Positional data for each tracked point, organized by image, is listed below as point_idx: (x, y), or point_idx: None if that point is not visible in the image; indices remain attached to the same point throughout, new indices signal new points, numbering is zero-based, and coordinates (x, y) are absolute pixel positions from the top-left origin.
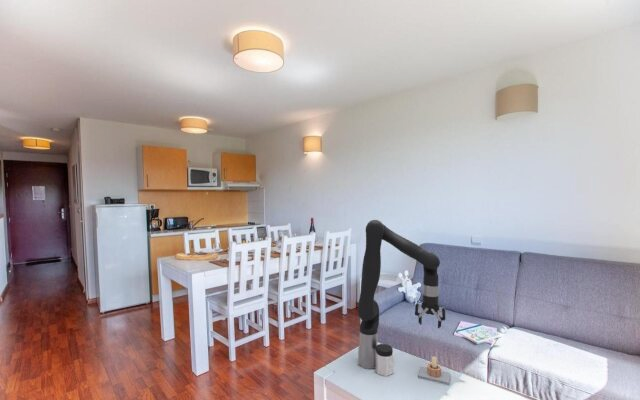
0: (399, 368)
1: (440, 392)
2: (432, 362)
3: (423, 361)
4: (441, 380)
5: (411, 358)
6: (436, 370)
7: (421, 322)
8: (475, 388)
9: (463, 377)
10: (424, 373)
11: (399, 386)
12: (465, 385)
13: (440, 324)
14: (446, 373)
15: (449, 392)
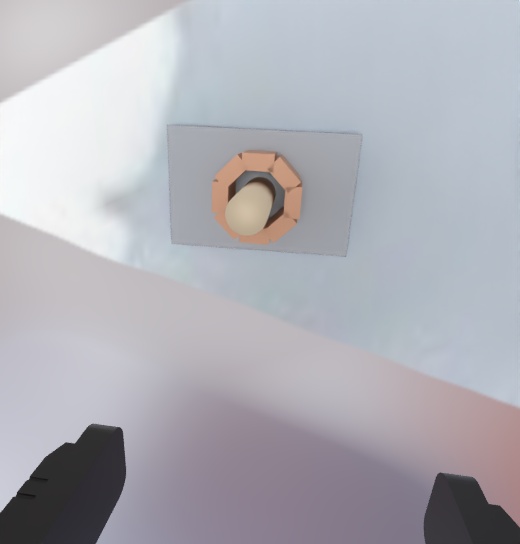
0: (481, 203)
1: (215, 12)
2: (263, 192)
3: (327, 333)
4: (213, 131)
5: (398, 343)
6: (237, 154)
7: (445, 531)
8: (40, 151)
9: (109, 241)
10: (319, 174)
11: None
12: (90, 161)
13: (27, 493)
14: (190, 226)
15: (165, 39)
